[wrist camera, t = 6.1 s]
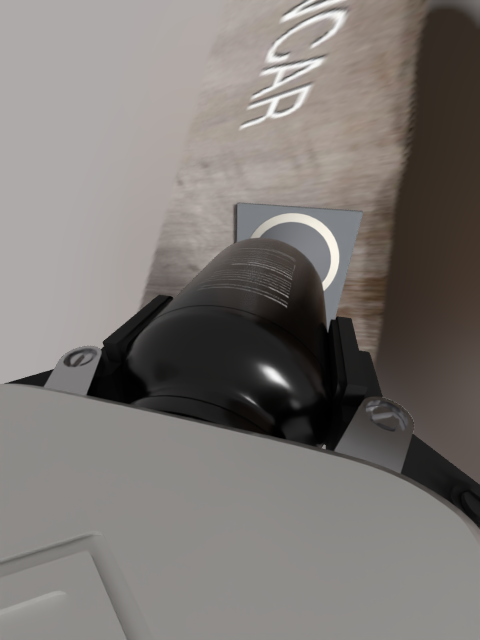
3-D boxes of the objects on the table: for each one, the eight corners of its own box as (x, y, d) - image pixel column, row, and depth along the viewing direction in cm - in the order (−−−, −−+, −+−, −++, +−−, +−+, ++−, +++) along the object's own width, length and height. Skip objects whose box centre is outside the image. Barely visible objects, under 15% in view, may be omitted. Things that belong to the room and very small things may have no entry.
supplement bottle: (188, 296, 16) (-7, 500, 6) (253, 205, 13) (41, 349, 3) (270, 360, 17) (211, 622, 7) (352, 293, 14) (453, 626, 4)
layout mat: (327, 343, 33) (327, 347, 33) (237, 328, 36) (235, 331, 35) (362, 211, 24) (363, 212, 24) (238, 202, 27) (236, 204, 26)
